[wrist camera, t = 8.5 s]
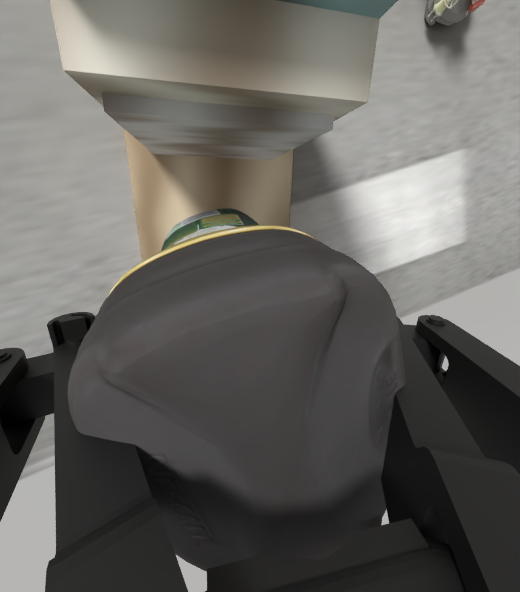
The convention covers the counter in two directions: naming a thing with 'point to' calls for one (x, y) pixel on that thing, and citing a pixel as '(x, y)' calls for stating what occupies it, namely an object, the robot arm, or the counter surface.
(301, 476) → the coffee jar
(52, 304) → the counter surface
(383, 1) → the shelf
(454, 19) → the figurine
